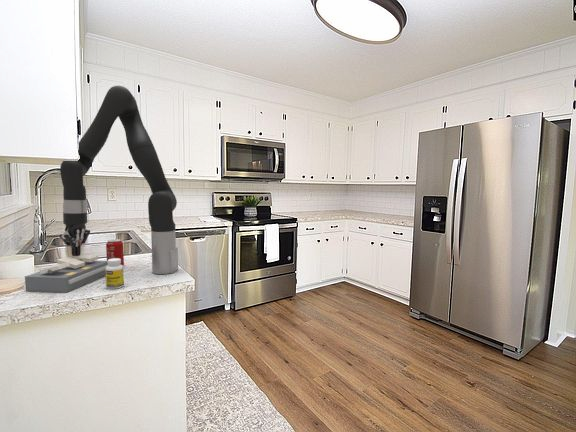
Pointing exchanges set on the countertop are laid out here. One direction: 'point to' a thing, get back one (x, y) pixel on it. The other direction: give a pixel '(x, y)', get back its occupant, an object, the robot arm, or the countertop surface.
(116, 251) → the beverage can
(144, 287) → the countertop surface
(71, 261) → the rocker
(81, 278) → the console
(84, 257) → the rocker
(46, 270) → the rocker
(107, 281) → the supplement bottle
